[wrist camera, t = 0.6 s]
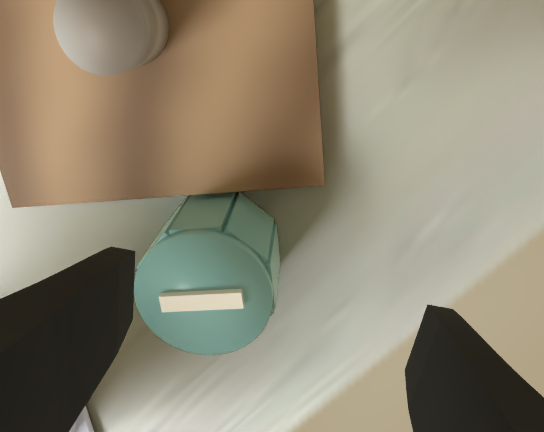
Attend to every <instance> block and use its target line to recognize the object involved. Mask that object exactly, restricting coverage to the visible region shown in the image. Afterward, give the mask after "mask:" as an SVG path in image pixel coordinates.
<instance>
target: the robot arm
mask: <svg viewBox="0 0 544 432" xmlns="http://www.w3.org/2000/svg"><path fill="white" fill-rule="evenodd" d="M134 270H135V251H131V250H126V249H121V248H115V247H109V248H107V249H105V250H102V251H100V252H98V253H96V254H94V255H92V256H90V257H88V258H86V259H84V260H82V261H80V262H78V263H76V264H74V265H73V266H71V267H68V268H66V269H64V270H62V271H60V272H58V273H56V274H54V275H52V276H50V277H48V278H46V279H44V280H42V281H40V282H38V283H35V284H33V285H31V286H29V287H26V288H24V289H22V290H20V291H17V292H15V293H13V294H11V295H8V296H6V297H4V298H1V299H0V432H94V430H93V427H92V424H91V421H90V418H89V414H88V411H87V408H86V404H87V402H88V400H89V399H90V397H91V396H92V394H93V392H94V391H95V389H96V388H97V386H98V384H99V383H100V381H101V380H102V378H103V376H104V375H105V373H106V371H107V370H108V368H109V367H110V365H111V363H112V362H113V360H114V358H115V357H116V355H117V353H118V351H119V349H120V347H121V345H122V342H123V340H124V338H125V336H126V333H127V331H128V329H129V327H130V324H131V322H132V320H133V298H134ZM405 377H406V390H407V400H408V409H409V414H410V419H411V424H412V428H413V432H544V398H543V397H542V396H541V395H540V394H539V393H538V392H537V391H536V390H535V389H534V388H533V387H532V386H530V385H529V384H528V383H527V382H526V381H525V380H524V379H523V378H522V377H521V376H520V375H518V373H517V372H515V371H514V370H513V369H512V368H511V367H510V366H509V365H508V364H507V363H506V362H505V361H504V360H503V359H502V358H501V357H500V356H499V355H498V354H497V353H496V352H495V351H494V350H493V349H492V348H491V347H490V346H489V345H488V344H487V343H486V342H485V340H484V339H483V338H482V337H481V336H480V335H479V334H478V333H477V332H476V331H475V330H474V329H473V328H472V327H471V326H470V325H469V324H468V323H467V322H466V321H465V320H464V319H463V318H462V317H461V316H460V315H459V314H458V313H457V312H455V311H454V310H453V309H449V308H443V307H438V306H432V305H427V308H426V310H425V313H424V316H423V319H422V322H421V325H420V328H419V331H418V334H417V336H416V339H415V342H414V345H413V348H412V351H411V354H410V357H409V359H408V362H407V365H406V368H405Z"/></svg>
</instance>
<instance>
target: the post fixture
mask: <svg viewBox="0 0 544 432" xmlns="http://www.w3.org/2000/svg"><path fill="white" fill-rule="evenodd" d="M0 171H1V174H2V177H3V180H4V183H5V186H6V190H7V193H8V196H9V199H10V202H11V205H12V208H16V207H30V206H44V205H58V204H72V203H86V202H100V201H114V200H128V199H142V198H156V197H170V196H184V195H198V194H212V193H226V192H240V191H254V190H268V189H282V188H296V187H310V186H324V185H325V181H324V165H323V148H322V132H321V116H320V99H319V83H318V67H317V50H316V34H315V17H314V1H313V0H0Z"/></svg>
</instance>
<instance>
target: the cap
mask: <svg viewBox="0 0 544 432" xmlns="http://www.w3.org/2000/svg"><path fill="white" fill-rule="evenodd" d="M136 268H137V270H136V271H135V274H136V276H135V281H134V298H135V303H136V306H137V309H138V311H139V313H140V316H141V317H142V319H143V321H144V322H145V324H146V325H147V326H148V327H149V329H150V330H151V331H152V332H153V333H154V334H155V335H156V336H158V337H159V338H160V339H162V340H163V341H164V342H166V343H168V344H169V345H171V346H173V347H175V348H177V349H180V350H183V351H186V352H189V353H194V354H200V355H220V354H225V353H230V352H233V351H236V350H238V349H240V348H242V347H244V346H246V345H248V344H249V343H251V342H252V341H253V340H254V339H255V338H257V336H258V335H259V334H260V333H261V332H262V331H263V329H264V327H265V326H266V324H267V322H268V320H269V317H270V316H271V315H272V314H273V313H274V308H275V307H276V298H277V288H278V279H279V270H280V252H279V243H278V233H277V224H276V223H274V218H272V217H271V216H270V215H268V214H267V213H266V212H265V211H263V210H262V209H261V208H260V207H258V206H257V205H256V204H254V203H253V202H252V201H251V200H249V199H248V198H247V197H245V196H244V195H243V194H242V193H239V194H238V195H237V196H236V192H226V193H212V194H198V195H191V196H190V197H189V196H188V197H187V198H186V199H185V200H184V201H183V203H182V204H181V205H180V206H179V208H178V209H177V210H176V211H175V213H174V214H173V215H172V216H171V218H170V219H169V220H168V221H167V223H166V224H165V225H164V226H163V228H162V229H161V231H160V232H159V234H158V235H157V237H156V238H155V240H154V241H153V243H152V244H151V246H150V247H149V249H148V250H147V252H146V253H145V255H144V256H143V258H142V259H141V261H140V262H139V263H138V265H137V266H136Z"/></svg>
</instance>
